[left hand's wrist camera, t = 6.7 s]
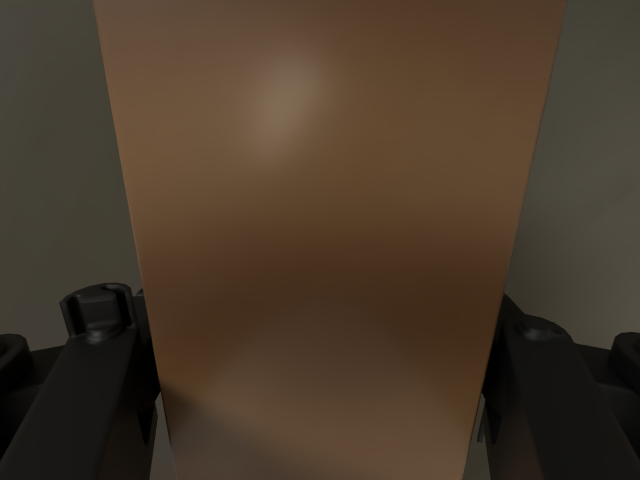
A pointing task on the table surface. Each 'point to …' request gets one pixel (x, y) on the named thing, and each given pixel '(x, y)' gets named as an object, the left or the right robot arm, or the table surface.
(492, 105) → the beam
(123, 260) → the table surface
